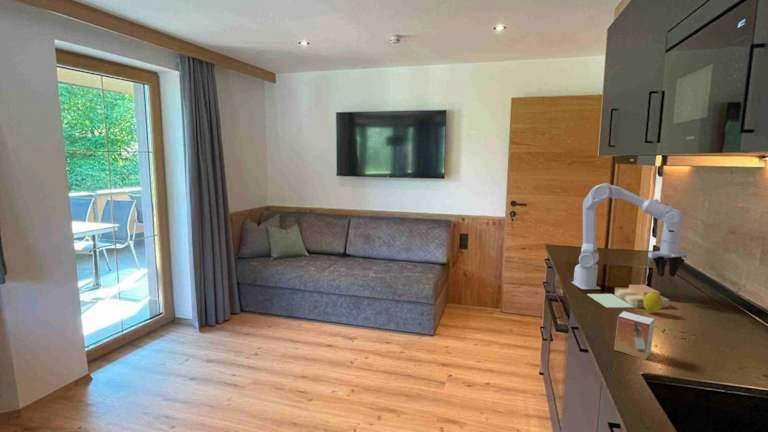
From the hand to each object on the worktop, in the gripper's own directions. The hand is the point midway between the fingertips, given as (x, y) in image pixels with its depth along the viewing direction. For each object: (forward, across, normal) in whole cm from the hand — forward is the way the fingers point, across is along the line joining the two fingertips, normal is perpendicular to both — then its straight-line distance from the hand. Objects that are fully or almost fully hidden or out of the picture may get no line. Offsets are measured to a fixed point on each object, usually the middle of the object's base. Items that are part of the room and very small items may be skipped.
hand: (666, 276), depth 155 cm
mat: (+10, -21, 0) cm, 23 cm away
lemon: (+10, -13, -12) cm, 20 cm away
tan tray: (+10, -9, 0) cm, 13 cm away
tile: (+7, -8, 0) cm, 11 cm away
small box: (+10, -38, -40) cm, 56 cm away
